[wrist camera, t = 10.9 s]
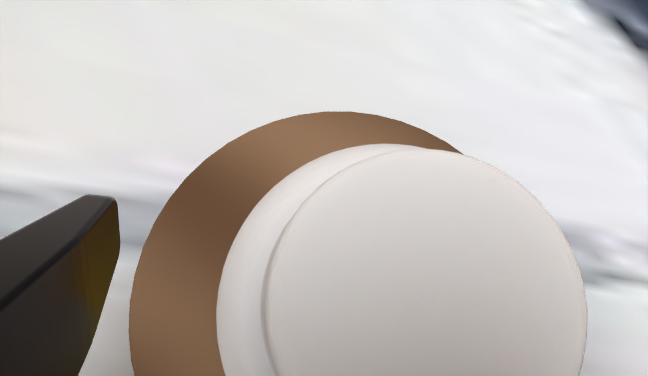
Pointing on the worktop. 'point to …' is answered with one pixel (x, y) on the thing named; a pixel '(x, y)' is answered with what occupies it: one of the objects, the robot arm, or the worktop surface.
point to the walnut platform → (228, 231)
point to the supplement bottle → (400, 273)
